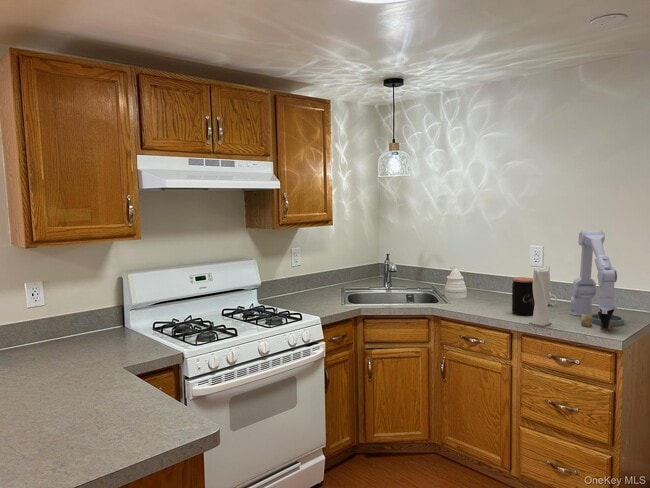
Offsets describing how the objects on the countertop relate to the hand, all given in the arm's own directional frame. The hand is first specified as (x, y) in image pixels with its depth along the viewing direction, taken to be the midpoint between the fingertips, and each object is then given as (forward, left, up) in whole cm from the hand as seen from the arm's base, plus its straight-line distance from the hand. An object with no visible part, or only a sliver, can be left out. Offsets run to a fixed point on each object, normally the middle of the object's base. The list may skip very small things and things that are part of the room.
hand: (605, 326), depth 222 cm
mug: (-32, +39, -2) cm, 50 cm away
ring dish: (-1, +14, -1) cm, 14 cm away
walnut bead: (0, 0, -2) cm, 2 cm away
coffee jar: (-38, +14, -2) cm, 41 cm away
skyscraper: (-26, -4, -2) cm, 26 cm away
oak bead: (-8, +3, -2) cm, 9 cm away
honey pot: (-83, +41, -2) cm, 93 cm away
